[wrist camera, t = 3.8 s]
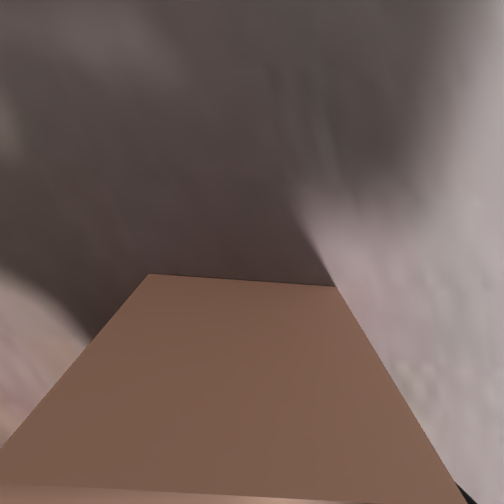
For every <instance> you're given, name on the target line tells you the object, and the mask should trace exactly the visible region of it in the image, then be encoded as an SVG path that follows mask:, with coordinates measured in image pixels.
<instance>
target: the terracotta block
mask: <svg viewBox="0 0 504 504" xmlns="http://www.w3.org/2000/svg"><path fill="white" fill-rule="evenodd" d="M0 504H468V503H467V502H466V500H465V498H464V497H463V495H462V494H461V492H460V490H459V489H458V487H457V485H456V484H455V482H454V480H453V479H452V477H451V475H450V474H449V472H448V470H447V469H446V467H445V465H444V464H443V462H442V461H441V459H440V457H439V456H438V454H437V452H436V451H435V449H434V447H433V446H432V444H431V442H430V441H429V439H428V437H427V436H426V434H425V432H424V431H423V429H422V428H421V426H420V424H419V423H418V421H417V419H416V418H415V416H414V414H413V413H412V411H411V409H410V408H409V406H408V404H407V403H406V401H405V399H404V398H403V396H402V395H401V393H400V391H399V390H398V388H397V386H396V385H395V383H394V381H393V380H392V378H391V376H390V375H389V373H388V371H387V370H386V368H385V366H384V365H383V363H382V362H381V360H380V358H379V357H378V355H377V353H376V352H375V350H374V348H373V347H372V345H371V343H370V342H369V340H368V338H367V337H366V335H365V333H364V332H363V330H362V329H361V327H360V325H359V324H358V322H357V320H356V319H355V317H354V315H353V314H352V312H351V310H350V309H349V307H348V305H347V304H346V302H345V300H344V299H343V297H342V296H341V294H340V292H339V291H338V289H337V287H331V286H317V285H303V284H289V283H274V282H260V281H246V280H232V279H218V278H203V277H189V276H175V275H161V274H148V275H147V276H146V278H145V279H144V280H143V281H142V282H141V284H140V285H139V286H138V287H137V288H136V289H135V291H134V292H133V293H132V294H131V295H130V297H129V298H128V299H127V300H126V301H125V302H124V304H123V305H122V306H121V307H120V308H119V310H118V311H117V312H116V313H115V314H114V315H113V317H112V318H111V319H110V320H109V321H108V323H107V324H106V325H105V326H104V327H103V328H102V330H101V331H100V332H99V333H98V334H97V336H96V337H95V338H94V339H93V340H92V341H91V343H90V344H89V345H88V346H87V347H86V349H85V350H84V351H83V352H82V353H81V354H80V356H79V357H78V358H77V359H76V360H75V362H74V363H73V364H72V365H71V366H70V367H69V369H68V370H67V371H66V372H65V373H64V375H63V376H62V377H61V378H60V379H59V380H58V382H57V383H56V384H55V385H54V386H53V388H52V389H51V390H50V391H49V392H48V393H47V395H46V396H45V397H44V398H43V399H42V401H41V402H40V403H39V404H38V405H37V406H36V408H35V409H34V410H33V411H32V412H31V414H30V415H29V416H28V417H27V418H26V419H25V421H24V422H23V423H22V424H21V425H20V427H19V428H18V429H17V430H16V431H15V432H14V434H13V435H12V436H11V437H10V438H9V440H8V441H7V442H6V443H5V444H4V445H3V447H2V448H1V449H0Z"/></svg>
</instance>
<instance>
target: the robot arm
mask: <svg viewBox="0 0 504 504" xmlns="http://www.w3.org/2000/svg"><path fill="white" fill-rule="evenodd" d="M454 482H455V481H454ZM455 484H456V485H457V487H458V489H459V490H460V492H461V494H462V495H463V497H464V498H465V500H466V502H467V503H468V504H477V503H476V502H475V501H474V500H473V499H472V498H471V497H470V496H469V495H468V494H467V493H466V492H465V491H464V490H463V489H462V488H461V487H460V486H459V485H458V484H457V483H456V482H455Z"/></svg>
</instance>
